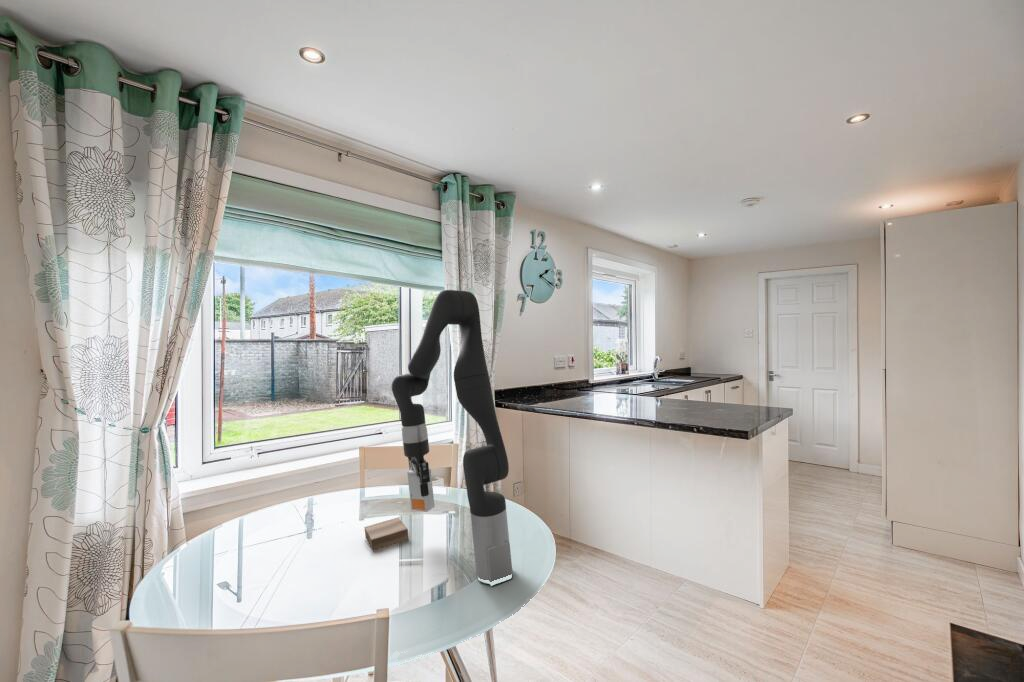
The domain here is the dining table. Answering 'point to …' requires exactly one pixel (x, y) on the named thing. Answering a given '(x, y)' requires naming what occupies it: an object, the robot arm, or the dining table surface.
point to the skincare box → (415, 493)
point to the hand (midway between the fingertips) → (421, 492)
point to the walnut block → (386, 534)
